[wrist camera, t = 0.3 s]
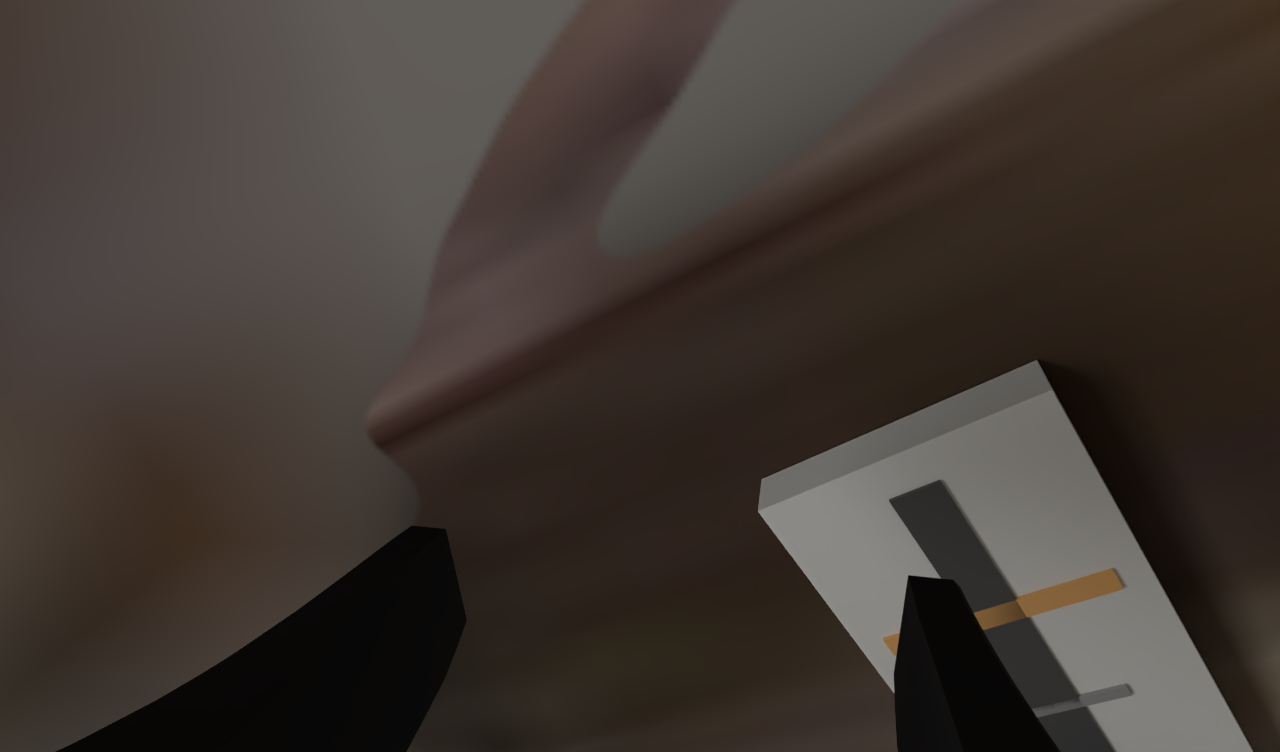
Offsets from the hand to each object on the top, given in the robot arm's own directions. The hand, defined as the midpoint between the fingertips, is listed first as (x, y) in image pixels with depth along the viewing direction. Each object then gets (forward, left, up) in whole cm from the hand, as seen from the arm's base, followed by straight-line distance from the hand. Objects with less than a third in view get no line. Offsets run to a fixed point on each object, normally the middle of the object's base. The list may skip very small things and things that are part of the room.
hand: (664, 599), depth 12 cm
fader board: (-12, -9, -10) cm, 18 cm away
